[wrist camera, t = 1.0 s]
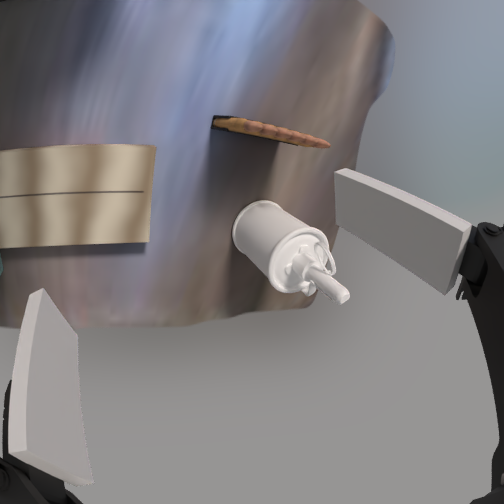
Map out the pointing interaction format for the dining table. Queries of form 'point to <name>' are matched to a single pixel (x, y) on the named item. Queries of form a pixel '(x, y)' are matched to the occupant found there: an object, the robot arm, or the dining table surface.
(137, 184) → the board
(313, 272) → the white smoke grenade
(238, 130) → the ammunition clip
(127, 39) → the dining table surface
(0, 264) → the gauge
